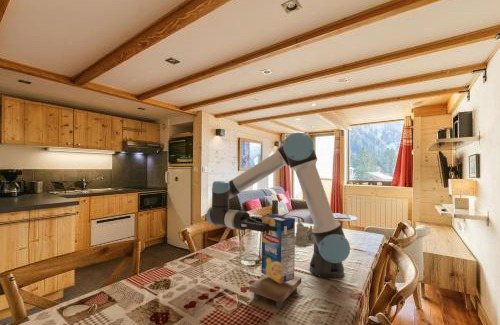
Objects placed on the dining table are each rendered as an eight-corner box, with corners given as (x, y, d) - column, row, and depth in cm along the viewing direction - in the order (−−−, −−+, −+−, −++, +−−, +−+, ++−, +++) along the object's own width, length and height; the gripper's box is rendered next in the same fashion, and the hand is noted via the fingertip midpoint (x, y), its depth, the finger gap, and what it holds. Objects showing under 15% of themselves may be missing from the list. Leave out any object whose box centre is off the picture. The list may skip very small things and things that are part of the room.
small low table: (271, 281, 101) (271, 269, 101) (301, 290, 94) (301, 277, 94) (249, 299, 87) (249, 285, 87) (281, 312, 79) (282, 296, 79)
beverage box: (280, 283, 84) (281, 220, 85) (261, 272, 93) (262, 215, 94) (294, 278, 88) (295, 218, 89) (274, 268, 97) (275, 213, 98)
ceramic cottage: (292, 244, 149) (294, 220, 149) (294, 238, 165) (295, 216, 165) (318, 248, 145) (320, 223, 145) (317, 241, 161) (319, 218, 161)
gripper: (249, 224, 108) (298, 233, 95) (224, 233, 93) (278, 245, 80) (249, 208, 108) (299, 214, 95) (224, 214, 93) (278, 222, 80)
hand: (289, 228), depth 88 cm, fingers closed on beverage box, 5 cm apart
